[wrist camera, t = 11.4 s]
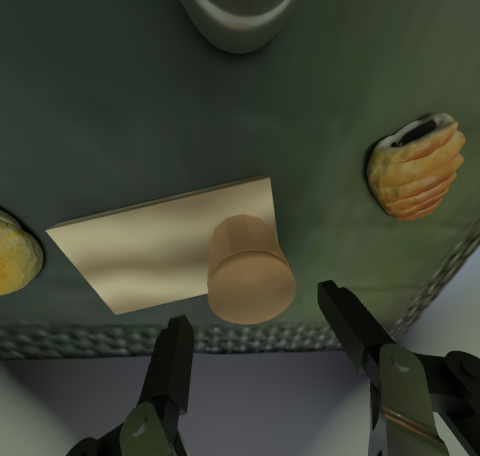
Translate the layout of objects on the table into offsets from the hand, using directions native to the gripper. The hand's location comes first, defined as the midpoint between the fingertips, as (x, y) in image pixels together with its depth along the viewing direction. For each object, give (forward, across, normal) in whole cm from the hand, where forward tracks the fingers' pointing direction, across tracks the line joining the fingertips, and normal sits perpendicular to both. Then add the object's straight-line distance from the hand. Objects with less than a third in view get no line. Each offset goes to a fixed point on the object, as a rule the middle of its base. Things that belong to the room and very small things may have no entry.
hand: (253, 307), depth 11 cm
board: (+9, +6, 0) cm, 11 cm away
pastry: (+9, -17, -3) cm, 19 cm away
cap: (+8, 0, 0) cm, 8 cm away
